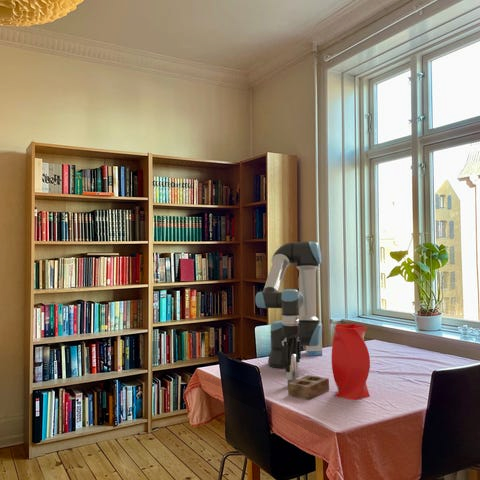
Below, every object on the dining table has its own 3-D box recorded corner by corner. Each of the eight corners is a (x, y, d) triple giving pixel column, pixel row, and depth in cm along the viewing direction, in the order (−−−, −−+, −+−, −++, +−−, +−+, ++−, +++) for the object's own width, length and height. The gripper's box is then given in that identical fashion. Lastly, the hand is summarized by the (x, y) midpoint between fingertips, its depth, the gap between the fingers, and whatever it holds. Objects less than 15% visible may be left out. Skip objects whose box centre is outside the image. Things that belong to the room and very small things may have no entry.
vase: (345, 401, 180) (343, 329, 181) (324, 392, 193) (323, 324, 194) (376, 396, 186) (374, 326, 187) (354, 387, 199) (352, 322, 200)
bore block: (288, 395, 190) (287, 383, 190) (308, 386, 202) (308, 374, 202) (309, 399, 183) (308, 387, 183) (329, 390, 196) (328, 378, 196)
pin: (285, 386, 203) (284, 354, 203) (290, 384, 206) (290, 352, 206) (293, 388, 200) (292, 355, 200) (298, 385, 203) (297, 353, 204)
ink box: (322, 355, 263) (321, 332, 263) (307, 355, 263) (307, 332, 263) (320, 352, 271) (319, 329, 272) (305, 352, 271) (305, 329, 272)
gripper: (286, 327, 195) (288, 383, 194) (308, 322, 208) (309, 375, 207) (272, 326, 200) (273, 380, 199) (294, 321, 213) (295, 372, 212)
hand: (292, 377), depth 203 cm, fingers closed on pin, 4 cm apart
